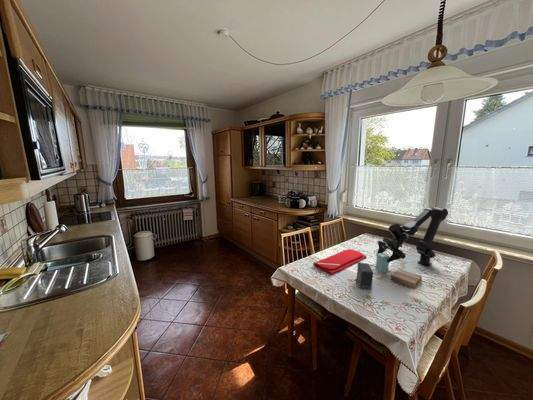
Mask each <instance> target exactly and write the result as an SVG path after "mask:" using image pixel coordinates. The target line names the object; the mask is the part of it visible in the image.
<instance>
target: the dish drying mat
mask: <svg viewBox="0 0 533 400" xmlns="http://www.w3.org/2000/svg"><path fill="white" fill-rule="evenodd" d="M365 259H367V255H366V254H363V253H362V252H361V251H358V250H355V249H351V248H347V249H343V250H342V251H339V252H337V253H335V254H332V255H331V256H328V257H327V256H326V257H325V258H323V259H320V260H318V261H314V262H313V263H312V265H313V266H314V267H315V268H316V269H317V270H319V271H321V272H324V273H325V274H328V275H330V276H333V275H335V274H337V273H339V272H341V271H344V270H346V269H348V268H349V267H352V266H353V265H356V264H358V263H360V262H361V261H363V260H365Z"/></svg>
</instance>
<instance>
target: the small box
mask: <svg viewBox="0 0 533 400" xmlns="http://www.w3.org/2000/svg"><path fill="white" fill-rule="evenodd" d="M373 276H374V271H373V269H372V267H371V265H370V263H364V262H357V271H356V280H357V285H358V287H359V289H363V290H364V289H365V290H372V288H373V286H372V285H373Z"/></svg>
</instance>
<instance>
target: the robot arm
mask: <svg viewBox="0 0 533 400" xmlns="http://www.w3.org/2000/svg"><path fill="white" fill-rule="evenodd" d="M448 215H449V211H448V209H447V208H443V207H437V206H435V207H425V208H424V209H423V211H422V212H421V213H419V214H417V216H416V217H415V218H413V220H411V221H410V222H406V223H405V224H403V225H400V224H399V223H396V222H395V224H391V225H389V226H388V231H389V232H390V233H391V234H392V236H393V238H392V237H391V238H388V237H386V236H384V237H383V239H382V240H378V241H377V245H378V249H377V252H376V255H377V254H378V253H385V252H386V250H389V251H391V252H392V254H391V255H389V259H388V260H387V262H389V263H390V262H393V261H396V260H405V258H406V253H404V251H403V250H401V249H399V248H402V247H403V244H404V243H405V242H406V241H409V242H410V241H411V239H410V236H413V237H414V236H415V234H417V232H418V231H419V228H420V226H421V225H422V224H424V223H425V222H426V221H427V220H428V219H429V218H431V220H430V223H429V224H428V227H427V229H426V231H425V234H424V237H423V238H422V240H418V241H417V243H416V245H415V246H416V247H415V248H416V251H417V252H416V253H417V254H420V255H419V260H418V261H417V263H418V264H419V265H423V266H426V267H430V266H431V265H432V262H431V259H433V258H435V257H436V253H435V251H433V249H434V246H433V241H434V239H435V237H436V234H437V231H438V229H439V226H440V224H441V223H442V222H443V221H444V220H446V219H447V216H448Z"/></svg>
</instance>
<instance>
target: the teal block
mask: <svg viewBox="0 0 533 400" xmlns="http://www.w3.org/2000/svg"><path fill="white" fill-rule="evenodd" d="M389 258H390V255H388V254H386V253H385V252H383V253H378V254H377V253H376V261H375V263H376V264H375V269H376V270H379V271H380V272H388V271H389V266H390V265H389V263H390V262H387V260H388V259H389Z"/></svg>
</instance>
